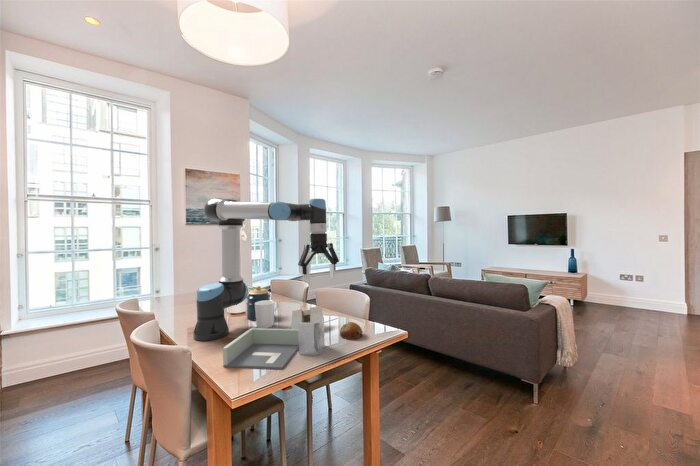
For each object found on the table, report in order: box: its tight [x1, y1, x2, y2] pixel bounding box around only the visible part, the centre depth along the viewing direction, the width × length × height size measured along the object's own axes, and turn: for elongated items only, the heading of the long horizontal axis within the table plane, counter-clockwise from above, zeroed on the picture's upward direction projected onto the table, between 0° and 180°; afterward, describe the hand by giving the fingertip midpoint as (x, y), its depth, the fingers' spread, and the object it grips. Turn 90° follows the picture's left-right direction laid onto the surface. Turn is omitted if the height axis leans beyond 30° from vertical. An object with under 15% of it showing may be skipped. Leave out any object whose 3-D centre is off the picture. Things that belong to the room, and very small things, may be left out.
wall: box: [290, 305, 324, 329], centre depth 152 cm, size 16×9×15 cm
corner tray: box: [222, 327, 299, 370], centre depth 119 cm, size 22×22×7 cm
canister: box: [246, 285, 271, 321], centre depth 172 cm, size 13×13×18 cm
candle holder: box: [255, 299, 275, 329], centre depth 155 cm, size 10×10×12 cm
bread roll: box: [339, 321, 364, 341], centre depth 139 cm, size 10×10×8 cm
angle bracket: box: [298, 316, 325, 356], centre depth 123 cm, size 10×8×12 cm
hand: (319, 279), depth 138 cm, fingers open, 13 cm apart
